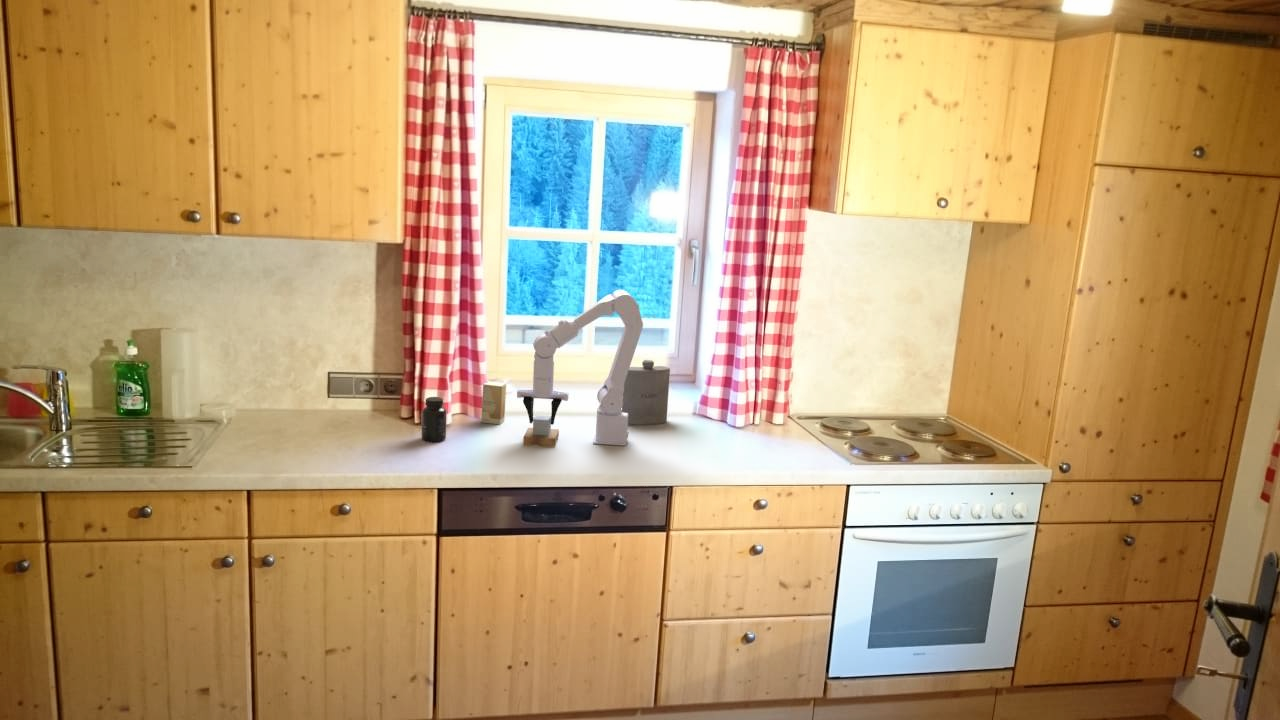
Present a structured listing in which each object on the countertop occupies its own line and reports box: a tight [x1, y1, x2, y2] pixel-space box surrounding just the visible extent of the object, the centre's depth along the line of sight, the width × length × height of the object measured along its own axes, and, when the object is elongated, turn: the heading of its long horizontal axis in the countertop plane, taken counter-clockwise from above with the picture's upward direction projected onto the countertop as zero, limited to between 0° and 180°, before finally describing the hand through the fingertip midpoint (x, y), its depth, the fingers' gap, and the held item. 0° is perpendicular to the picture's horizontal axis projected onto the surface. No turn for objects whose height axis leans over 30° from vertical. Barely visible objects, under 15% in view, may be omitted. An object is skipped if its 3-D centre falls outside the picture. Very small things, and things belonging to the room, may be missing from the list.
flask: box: [621, 359, 671, 426], centre depth 293 cm, size 15×6×20 cm, turn 110°
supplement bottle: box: [421, 396, 447, 444], centre depth 265 cm, size 7×7×12 cm
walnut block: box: [522, 427, 560, 448], centre depth 270 cm, size 9×9×3 cm
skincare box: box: [480, 380, 507, 425], centre depth 285 cm, size 6×4×12 cm
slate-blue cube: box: [532, 414, 552, 435], centre depth 270 cm, size 4×4×4 cm
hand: (541, 422), depth 269 cm, fingers open, 5 cm apart
